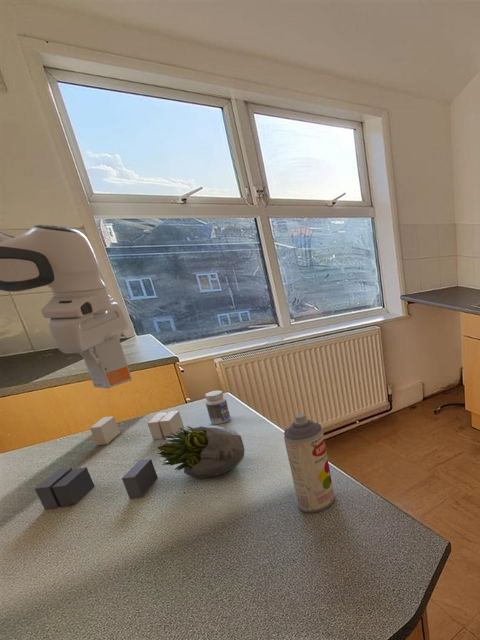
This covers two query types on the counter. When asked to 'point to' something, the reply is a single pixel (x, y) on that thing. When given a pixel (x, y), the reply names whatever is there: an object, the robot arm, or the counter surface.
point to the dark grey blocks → (91, 484)
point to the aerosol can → (309, 465)
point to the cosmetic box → (109, 364)
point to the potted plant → (203, 450)
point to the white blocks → (157, 425)
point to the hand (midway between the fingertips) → (105, 359)
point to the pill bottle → (217, 407)
